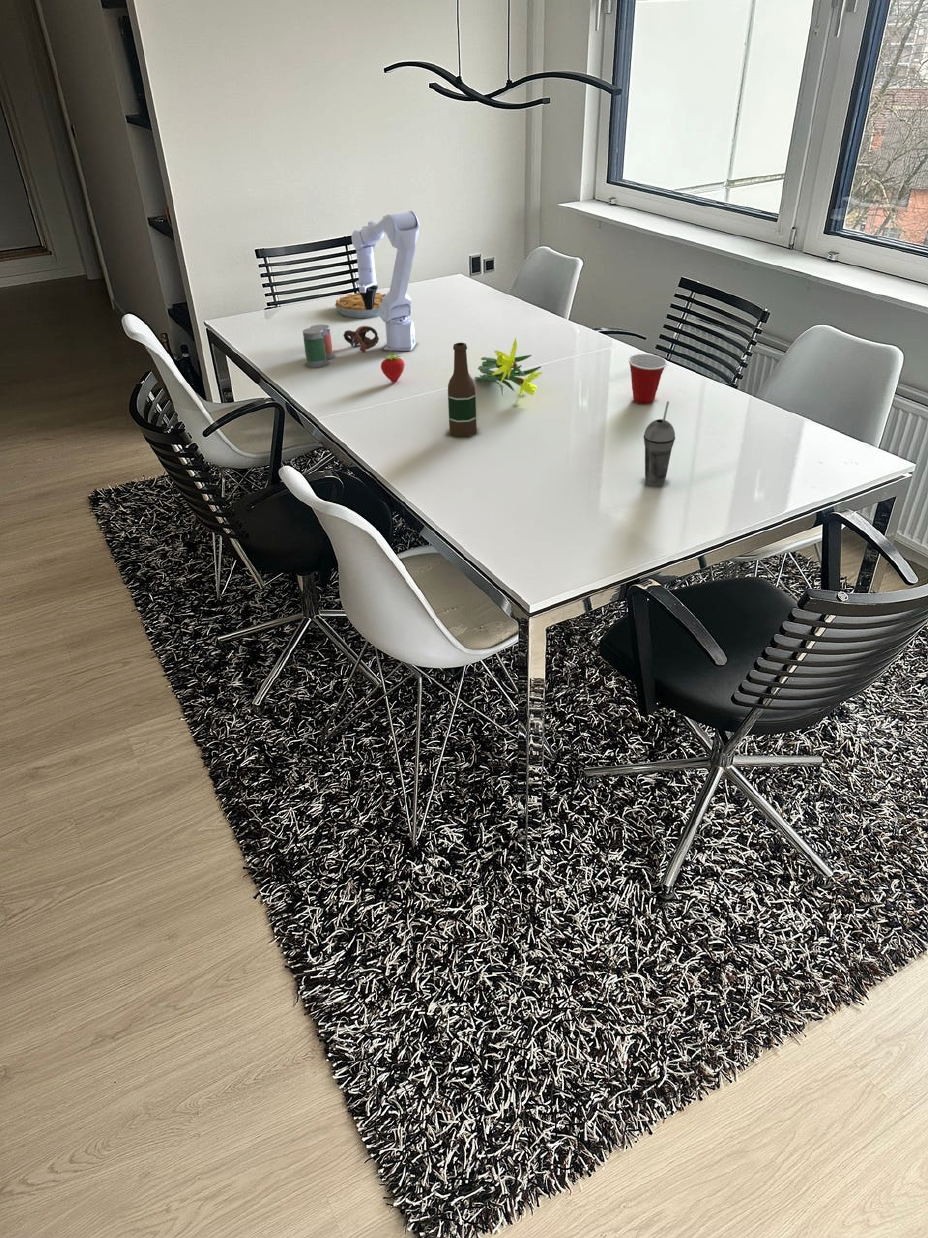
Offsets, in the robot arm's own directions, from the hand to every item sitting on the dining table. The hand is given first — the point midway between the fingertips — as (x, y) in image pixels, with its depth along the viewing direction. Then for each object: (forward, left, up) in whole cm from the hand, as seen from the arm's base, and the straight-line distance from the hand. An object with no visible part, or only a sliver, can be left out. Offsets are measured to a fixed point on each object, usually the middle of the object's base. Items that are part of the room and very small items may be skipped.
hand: (369, 308), depth 309 cm
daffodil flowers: (-53, +52, -10) cm, 75 cm away
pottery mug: (0, +14, -10) cm, 17 cm away
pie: (+11, -30, -10) cm, 34 cm away
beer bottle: (-47, +82, -10) cm, 95 cm away
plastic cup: (-95, +54, -10) cm, 109 cm away
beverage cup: (-98, +107, -10) cm, 145 cm away
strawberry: (-19, +46, -10) cm, 50 cm away
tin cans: (+11, +28, -9) cm, 31 cm away
